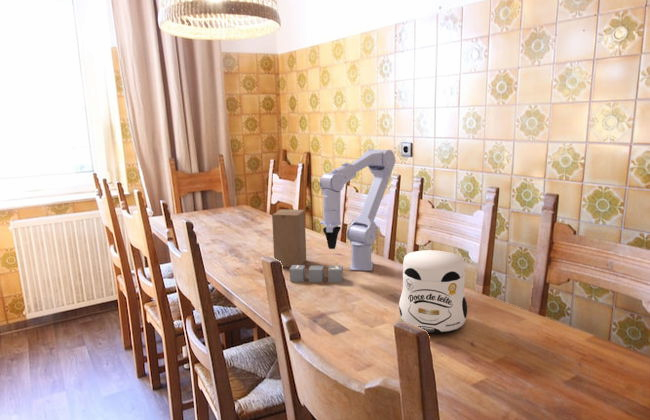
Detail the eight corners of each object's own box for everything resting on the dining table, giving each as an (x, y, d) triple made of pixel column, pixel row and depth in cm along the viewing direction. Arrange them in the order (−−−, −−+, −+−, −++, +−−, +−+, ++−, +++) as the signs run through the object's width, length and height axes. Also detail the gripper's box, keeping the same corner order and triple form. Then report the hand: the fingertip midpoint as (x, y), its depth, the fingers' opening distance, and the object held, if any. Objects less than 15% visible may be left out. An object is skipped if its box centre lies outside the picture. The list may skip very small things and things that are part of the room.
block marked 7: (329, 278, 157) (329, 265, 156) (342, 278, 157) (342, 265, 156) (328, 282, 153) (327, 269, 152) (341, 283, 152) (341, 269, 151)
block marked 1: (292, 277, 159) (292, 264, 158) (305, 277, 158) (305, 264, 157) (290, 281, 154) (289, 268, 154) (303, 282, 154) (302, 268, 153)
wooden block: (300, 268, 168) (298, 215, 164) (274, 267, 170) (271, 214, 166) (306, 260, 177) (305, 209, 173) (281, 259, 179) (279, 209, 175)
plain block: (311, 277, 158) (310, 265, 157) (323, 278, 157) (323, 265, 156) (308, 282, 154) (308, 269, 153) (322, 282, 153) (321, 269, 152)
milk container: (418, 344, 110) (419, 273, 107) (388, 315, 126) (388, 252, 123) (480, 333, 115) (483, 264, 111) (444, 306, 131) (445, 246, 128)
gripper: (322, 205, 160) (323, 242, 163) (316, 212, 146) (317, 253, 149) (342, 205, 159) (342, 243, 162) (338, 213, 145) (338, 254, 148)
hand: (332, 248), depth 155 cm, fingers closed
